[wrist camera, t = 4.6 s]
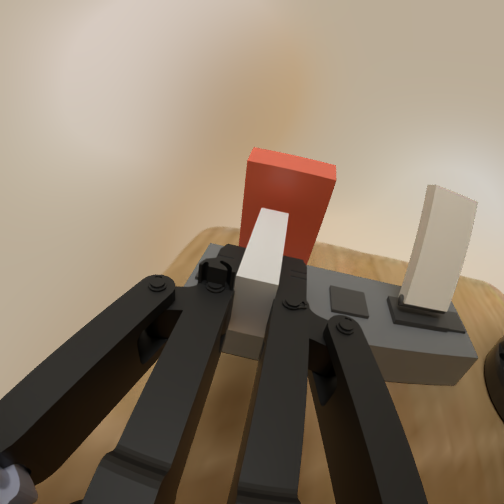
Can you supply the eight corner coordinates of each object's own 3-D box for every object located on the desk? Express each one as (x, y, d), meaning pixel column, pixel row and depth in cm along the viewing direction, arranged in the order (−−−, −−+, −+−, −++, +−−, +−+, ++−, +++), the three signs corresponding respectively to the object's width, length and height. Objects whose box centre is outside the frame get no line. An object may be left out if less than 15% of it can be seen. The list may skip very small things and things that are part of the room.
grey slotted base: (432, 324, 28) (451, 293, 26) (454, 385, 21) (481, 353, 18) (207, 276, 30) (210, 238, 28) (175, 338, 22) (174, 296, 20)
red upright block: (299, 276, 24) (337, 165, 16) (297, 292, 23) (338, 180, 15) (239, 262, 24) (251, 146, 16) (234, 277, 23) (245, 160, 15)
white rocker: (438, 310, 23) (469, 201, 21) (445, 317, 22) (478, 202, 19) (395, 302, 23) (426, 184, 21) (401, 308, 22) (435, 184, 20)
